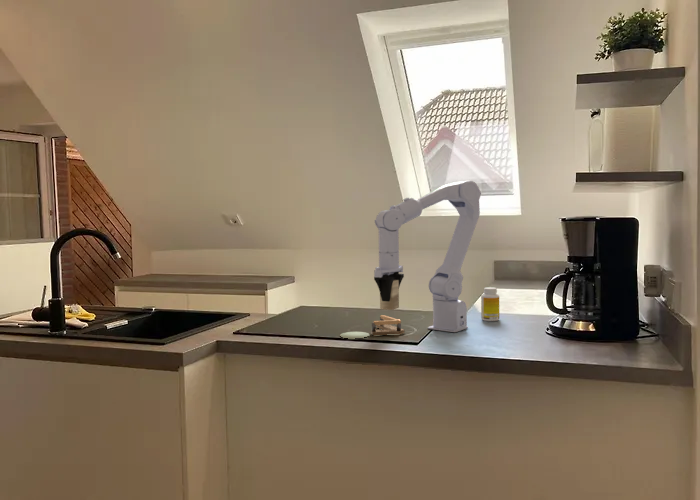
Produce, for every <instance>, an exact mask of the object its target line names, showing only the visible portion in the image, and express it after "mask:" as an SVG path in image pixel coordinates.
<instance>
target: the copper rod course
mask: <svg viewBox="0 0 700 500" xmlns="http://www.w3.org/2000/svg"><path fill="white" fill-rule="evenodd" d="M395 325H396V326H395ZM377 328H379V329H377ZM380 329H382V330H380ZM402 333H404V334H405V329H403V328H402V320H401V319H397V318H394V317H391V316H388V315H384V314H381V315H380V316H379V320H373V322H371V330H370V335H371V334H372V335H387V334H402ZM372 335H371V336H372ZM402 335H403V334H402Z"/></svg>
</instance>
